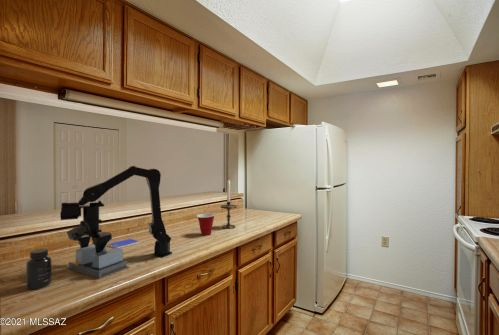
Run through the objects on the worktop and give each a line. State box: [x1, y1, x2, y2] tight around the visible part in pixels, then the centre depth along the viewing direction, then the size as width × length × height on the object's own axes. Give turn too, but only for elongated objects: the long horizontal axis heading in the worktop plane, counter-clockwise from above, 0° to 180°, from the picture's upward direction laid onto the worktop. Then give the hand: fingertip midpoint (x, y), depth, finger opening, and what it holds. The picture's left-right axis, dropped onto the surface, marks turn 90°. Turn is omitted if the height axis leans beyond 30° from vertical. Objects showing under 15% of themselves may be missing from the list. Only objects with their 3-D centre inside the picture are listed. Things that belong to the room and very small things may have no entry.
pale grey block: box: [75, 244, 107, 265], centre depth 111 cm, size 10×4×7 cm, turn 152°
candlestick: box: [219, 175, 238, 230], centre depth 180 cm, size 11×11×35 cm
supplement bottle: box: [25, 248, 52, 291], centre depth 92 cm, size 7×7×12 cm
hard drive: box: [106, 238, 139, 248], centre depth 141 cm, size 2×8×12 cm
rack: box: [67, 247, 130, 280], centre depth 108 cm, size 13×20×7 cm, turn 62°
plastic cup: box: [196, 212, 216, 236], centre depth 162 cm, size 11×11×12 cm
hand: (91, 255), depth 111 cm, fingers open, 9 cm apart
